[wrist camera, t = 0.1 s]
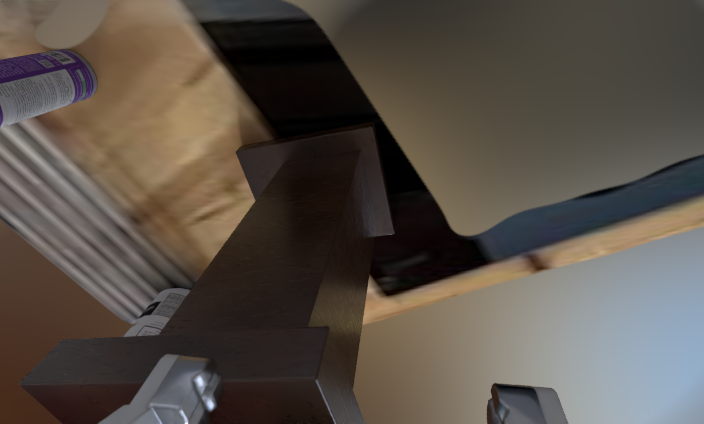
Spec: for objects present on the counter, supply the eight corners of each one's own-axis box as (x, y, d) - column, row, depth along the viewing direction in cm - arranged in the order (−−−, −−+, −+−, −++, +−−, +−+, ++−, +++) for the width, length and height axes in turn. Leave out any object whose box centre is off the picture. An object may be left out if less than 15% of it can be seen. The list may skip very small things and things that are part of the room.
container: (42, 67, 36) (-159, 110, 23) (65, 38, 34) (-140, 67, 21) (82, 107, 37) (-86, 167, 25) (106, 81, 36) (-61, 132, 23)
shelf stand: (278, 239, 43) (143, 498, 21) (241, 145, 37) (0, 369, 15) (394, 226, 40) (376, 515, 18) (373, 121, 34) (308, 360, 12)
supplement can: (223, 324, 53) (165, 429, 40) (175, 326, 55) (105, 427, 42) (199, 282, 49) (126, 384, 36) (149, 287, 51) (62, 385, 38)
